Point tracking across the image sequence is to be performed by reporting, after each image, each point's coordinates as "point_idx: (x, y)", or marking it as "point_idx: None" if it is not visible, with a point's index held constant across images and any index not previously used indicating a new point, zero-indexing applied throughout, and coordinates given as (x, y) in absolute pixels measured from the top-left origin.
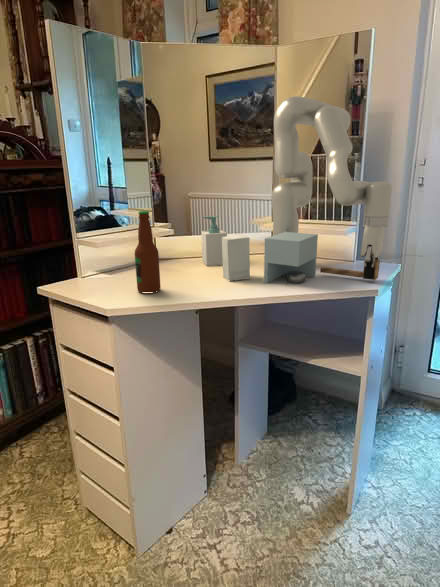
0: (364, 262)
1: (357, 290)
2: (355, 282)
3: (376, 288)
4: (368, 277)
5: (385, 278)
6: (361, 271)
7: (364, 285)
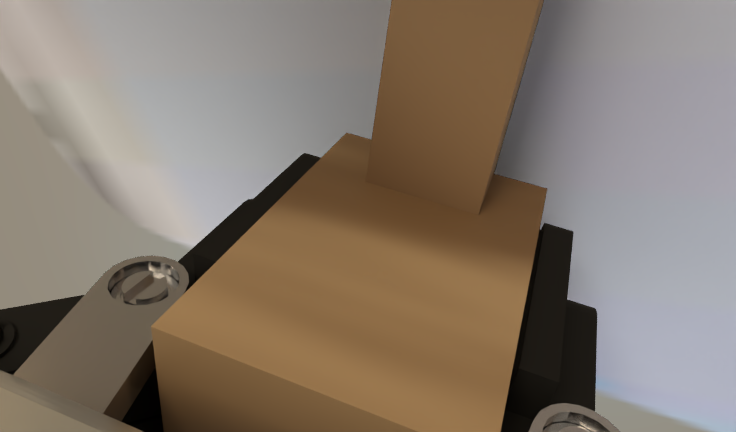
0: (182, 302)
1: (18, 56)
2: (332, 7)
3: (192, 247)
4: None
5: (700, 416)
6: (494, 142)
7: (239, 134)
